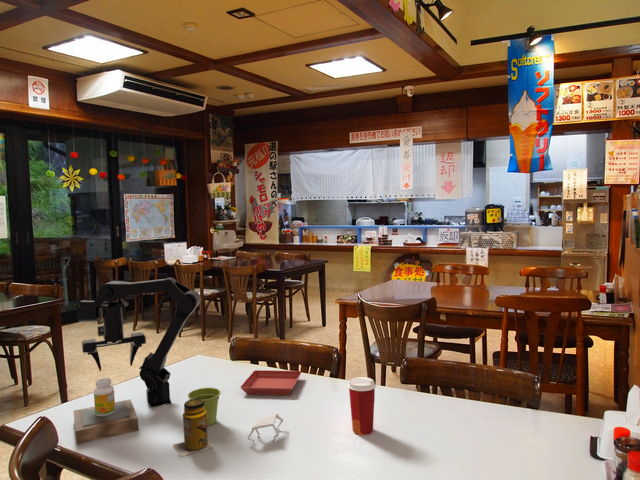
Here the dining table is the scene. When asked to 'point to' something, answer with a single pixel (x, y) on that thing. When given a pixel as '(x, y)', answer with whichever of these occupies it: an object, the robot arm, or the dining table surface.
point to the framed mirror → (105, 422)
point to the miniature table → (266, 425)
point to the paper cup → (362, 404)
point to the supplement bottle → (104, 397)
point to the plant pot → (207, 401)
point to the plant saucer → (271, 382)
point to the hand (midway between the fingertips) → (115, 368)
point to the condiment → (194, 428)
